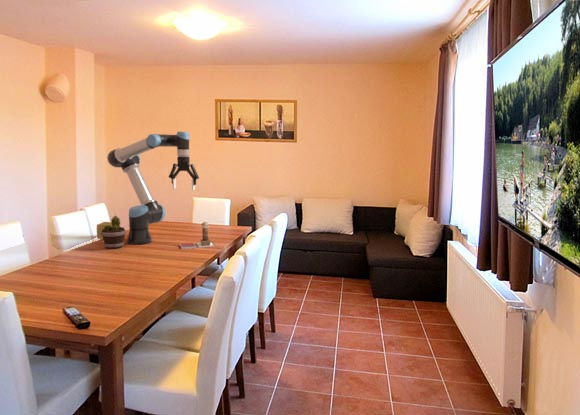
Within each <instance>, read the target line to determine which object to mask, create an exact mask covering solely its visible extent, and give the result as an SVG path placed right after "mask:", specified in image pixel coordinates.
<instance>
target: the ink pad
mask: <svg viewBox="0 0 580 415" xmlns="http://www.w3.org/2000/svg"><path fill="white" fill-rule="evenodd" d="M195 243H196V242H186V243H185V242H184V243H183V242H182V243H179V247H180V249H182V250H186V249H187V250H188V249H197V246H196V244H195Z"/></svg>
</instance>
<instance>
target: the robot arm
mask: <svg viewBox="0 0 580 415" xmlns="http://www.w3.org/2000/svg"><path fill="white" fill-rule="evenodd" d="M159 147H164V148H165V147H167V148H169V147H172V148H173V147H174V148H176V155H177V163H172V169H171V170H170V172H169V174H168V178H170V179H171V184H172V190H177V179H176V178H177V177H178V175H179V174H180V172H187V173H188V174H189V176H190V177H191V178H192V180H191V191H195V190H196V185H197V180H199V178H200V177H199V175H198V172H197V170H196V169H195V164H194V163H191V164H190V134H189V132H188V131H177V132H176V134H165V133H164V134H160V133H151V134H148V135H147V137H145V138H143V139H141V140H138V141H136V142H133V143H131V144H130V145H126V146H124V147H121V148H119V147H117V148H115V149H113V150H111V151H109V153H108V154H107V162H108V164H109V165H110V166H111V167H114V168H121V170H122V172H123V173H125V174H127V177H128V179H129V181H130V184H131V185H132V187H133V189H134V191H135V194H136V196H137V198H138V201H139V203H140V204H141V205H134V206H132V207H130V208H129V210H128V221H129V222H128V223H129V224H128V226H129V227H128V228H129V232H128V235H127V238H126V243H127V244H129V245H132V246H133V245H134V246H135V245H147V244H151V243H152V242H153V239H152V237H151V236H152V235H151V232H150V230H149V225H152V224H157V223H160V222H162V221H163V220H164V218H165V215H166V210H165V207H164V206H163V205H161V204H159V203H158V201H157V200H156V199H155V198H154V197H153V196H152V192H151V191H150V189H149V187H148V185H147V183H146V180H145V178H144V176H143V175H142V172H141V170H140V165H141V164H140V163H141V156H140V155H141V154H144V153H145V152H148V151H152V150H153V149H156V148H159Z"/></svg>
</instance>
